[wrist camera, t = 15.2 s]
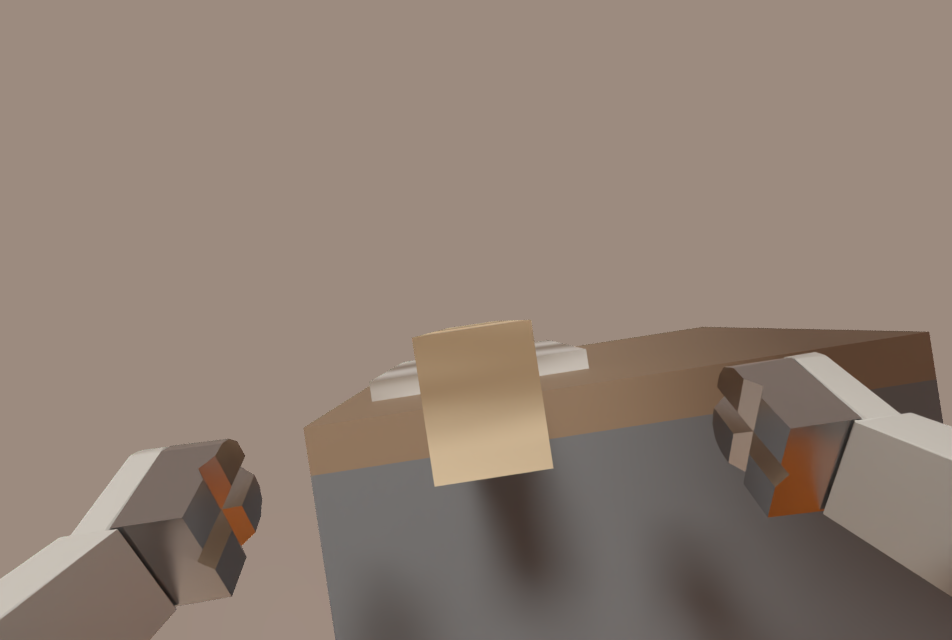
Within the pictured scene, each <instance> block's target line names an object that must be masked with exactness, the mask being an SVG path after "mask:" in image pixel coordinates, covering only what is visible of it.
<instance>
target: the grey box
mask: <svg viewBox="0 0 952 640" xmlns="http://www.w3.org/2000/svg"><path fill="white" fill-rule="evenodd" d="M575 347H579V348H583V349H586V352H587V359H588V365H589V369H582V370H575V371H569V372H562V373H556V374H549V375H543V376H540V383H541V389H542V396H543V403H544V409H545V416H546V422H547V429H548V435H549V442H550V449H551V455H552V462H553V468H552V469H546V470H539V471H533V472H527V473H520V474H514V475H507V476H501V477H494V478H488V479H481V480H475V481H468V482H462V483H456V484H449V485H443V486H436V487H435V486H434V480H433V473H432V466H431V460H430V453H429V447H428V440H427V433H426V427H425V420H424V414H423V407H422V400H421V394H419V395H412V396H406V397H399V398H392V399H386V400H379V401H373V402H372V398H371V391H370V386H369V387H367V388H366V389H364V390H363V391H362V392H360V393H358V394H356V395H355V396H353V397H352V398H350V399H349V400H347V401H345V402H344V403H342V404H341V405H339V406H337V407H336V408H334V409H333V410H331V411H329V412H328V413H326V414H325V415H323V416H322V417H320V418H318V419H317V420H315V421H314V422H312V423H310V424H309V425H307V426H306V427H304V434H305V440H306V447H307V454H308V460H309V467H310V474H311V480H312V487H313V494H314V500H315V507H316V514H317V520H318V526H319V534H320V540H321V547H322V553H323V560H324V567H325V573H326V579H327V587H328V593H329V600H330V606H331V612H332V620H333V626H334V633H335V640H952V597H951V596H950V595H948V594H947V593H945V592H943V591H942V590H940V589H939V588H937V587H936V586H934V585H933V584H931V583H930V582H928V581H926V580H925V579H923V578H922V577H920V576H919V575H917V574H916V573H914V572H912V571H911V570H909V569H908V568H906V567H905V566H903V565H902V564H900V563H899V562H897V561H895V560H894V559H892V558H891V557H889V556H888V555H886V554H885V553H883V552H881V551H880V550H878V549H877V548H875V547H874V546H872V545H871V544H869V543H868V542H866V541H864V540H863V539H861V538H860V537H858V536H857V535H855V534H854V533H852V532H850V531H849V530H847V529H846V528H844V527H843V526H841V525H840V524H838V523H837V522H835V521H833V520H832V519H830V518H829V517H827V516H826V515H824V514H823V512H824V511H818V512H810V513H802V514H793V515H785V516H777V517H767V516H766V515H765V513H764V512H763V510H762V509H761V508H760V506H759V505H758V503H757V502H756V501H755V499H754V498H753V496H752V495H751V494H750V492H749V491H748V489H747V488H746V487H745V485H744V484H743V483H744V476H745V471H743V470H741V469H739V468H737V467H736V466H734V465H732V464H730V463H728V461H727V460H726V458H725V457H724V455H723V454H722V452H721V451H720V449H719V446H718V444H717V442H716V440H715V435H714V430H713V425H712V421H713V411H714V407H715V406H716V405H717V404H718V403H719V402H720V400H721V399H722V398H723V397H724V395H723V394H722V393H721V391H720V390H719V389H718V388H717V384H718V378H719V374H720V372H721V371H722V369H723V367H728V366H734V365H741V364H748V363H754V362H761V361H767V360H774V359H782V358H784V357H788V356H794V355H800V354H806V353H812V352H817V353H820V354H824V355H826V356H827V357H829V358H830V359H831V360H832V361H834V362H835V363H836V364H837V365H839V366H840V367H841V368H843V369H844V370H845V371H846V372H848V373H849V374H850V375H851V376H853V377H854V378H855V379H857V380H858V381H859V382H860V383H862V384H863V385H864V386H866V387H867V388H868V389H869V390H871V391H872V392H873V393H874V394H876V395H877V396H878V397H880V398H881V399H882V400H883V401H885V402H886V403H887V404H889V405H890V406H891V407H892V408H894V409H895V410H896V411H897V412H899V413H900V414H905V413H914V414H916V415H919V416H922V417H925V418H928V419H931V420H934V421H937V422H939V423H942V424H943V419H942V413H941V406H940V400H939V393H938V387H937V380H936V374H935V368H934V361H933V354H932V348H931V342H930V335H929V332H913V331H863V330H820V329H819V330H818V329H817V330H816V329H772V328H726V327H724V328H723V327H700V328H693V329H686V330H680V331H673V332H667V333H660V334H654V335H648V336H641V337H634V338H628V339H621V340H614V341H608V342H601V343H595V344H588V345H582V346H575Z"/></svg>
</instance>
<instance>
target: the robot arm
mask: <svg viewBox="0 0 952 640" xmlns="http://www.w3.org/2000/svg"><path fill="white" fill-rule="evenodd" d="M717 388H718V389H719V390H720V391H721V393H722V394H723V395H724V397H723V398H722V399H721V400H720V402H719V403H718V404H717V405H716V406H715V407H714V411H713V421H712V425H713V430H714V435H715V440H716V442H717V444H718V446H719V449H720V451H721V452H722V454H723V455H724V457H725V458H726V460H727V461H728V463H730V464H732V465H734V466H736V467H737V468H739V469H741V470H743V471H745V476H744V483H743V484H744V485H745V487H746V488H747V489H748V491H749V492H750V494H751V495H752V496H753V498H754V499H755V501H756V502H757V503H758V505H759V506H760V508H761V509H762V510H763V512H764V513H765V515H766V516H767V517H777V516H785V515H793V514H802V513H810V512H818V511H824V512H823V514H824V515H826V516H827V517H829V518H830V519H832V520H833V521H835V522H837V523H838V524H840V525H841V526H843V527H844V528H846V529H847V530H849V531H850V532H852V533H854V534H855V535H857V536H858V537H860V538H861V539H863V540H864V541H866V542H868V543H869V544H871V545H872V546H874V547H875V548H877V549H878V550H880V551H881V552H883V553H885V554H886V555H888V556H889V557H891V558H892V559H894V560H895V561H897V562H899V563H900V564H902V565H903V566H905V567H906V568H908V569H909V570H911V571H912V572H914V573H916V574H917V575H919V576H920V577H922V578H923V579H925V580H926V581H928V582H930V583H931V584H933V585H934V586H936V587H937V588H939V589H940V590H942V591H943V592H945V593H947V594H948V595H950V596H951V597H952V427H951V426H948V425H945V424H942V423H939V422H937V421H934V420H931V419H928V418H925V417H922V416H919V415H916V414H914V413H905V414H900V413H899V412H897V411H896V410H895V409H894V408H892V407H891V406H890V405H889V404H887V403H886V402H885V401H883V400H882V399H881V398H880V397H878V396H877V395H876V394H874V393H873V392H872V391H871V390H869V389H868V388H867V387H866V386H864V385H863V384H862V383H860V382H859V381H858V380H857V379H855V378H854V377H853V376H851V375H850V374H849V373H848V372H846V371H845V370H844V369H843V368H841V367H840V366H839V365H837V364H836V363H835V362H834V361H832V360H831V359H830V358H829V357H827V356H826V355H824V354H820V353H817V352H812V353H806V354H800V355H794V356H788V357H784V358H782V359H774V360H767V361H761V362H754V363H748V364H741V365H734V366H728V367H723V369H722V371H721V372H720V374H719V378H718V384H717ZM244 457H245V455H244V453H243V451H242V449H241V448H240V446H239V444H238V442H237V441H234V440H231V439H224V440H216V441H208V442H199V443H191V444H183V445H175V446H170V447H162V448H154V449H146V450H140V451H138V452H136V453H134V454H132V455H130V456H129V458H128V459H127V460H126V462H125V463H124V464H123V466H122V467H121V468H120V470H119V471H118V472H117V474H116V475H115V477H114V478H113V479H112V481H111V482H110V483H109V485H108V486H107V487H106V488H105V490H104V491H103V492H102V494H101V495H100V496H99V498H98V499H97V500H96V502H95V503H94V505H93V506H92V507H91V509H90V510H89V511H88V513H87V514H86V515H85V517H84V518H83V519H82V521H81V522H80V523H79V525H78V526H77V527H76V529H75V530H74V531H73V533H72V534H71V535H70V536H66V537H59V538H58V539H57V540H55V541H54V542H52V543H51V544H49V545H48V546H47V547H45V548H44V549H42V550H41V551H40V552H38V553H37V554H35V555H34V556H32V557H31V558H29V559H28V560H27V561H25V562H24V563H23V564H21V565H19V566H18V567H17V568H15V569H14V570H12V571H11V572H10V573H8V574H7V575H5V576H4V577H2V578H1V579H0V640H150V639H151V638H152V637H153V636H154V635H155V634H156V632H157V631H158V630H159V629H160V628H161V627H162V625H163V624H164V623H165V622H166V621H167V620H168V619H169V618H170V616H171V615H172V614H173V613H174V612H175V611H176V606H182V605H187V604H193V603H199V602H204V601H210V600H216V599H221V598H227V597H232V595H233V592H234V589H235V586H236V584H237V581H238V578H239V576H240V573H241V570H242V568H243V565H244V562H245V559H246V555H245V553H244V550H243V548H242V545H243V544H244V543H245V542H246V541H247V540H248V539H249V538H250V537H251V536H252V535H253V534H254V533H255V532H256V529H257V526H258V523H259V520H260V517H261V505H262V497H261V492H260V487H259V484H258V482H257V480H256V477H255V476H254V475H253V474H252V473H250V472H249V471H247V470H245V469H244V468H242V467H241V464H242V462H243V459H244Z"/></svg>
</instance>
